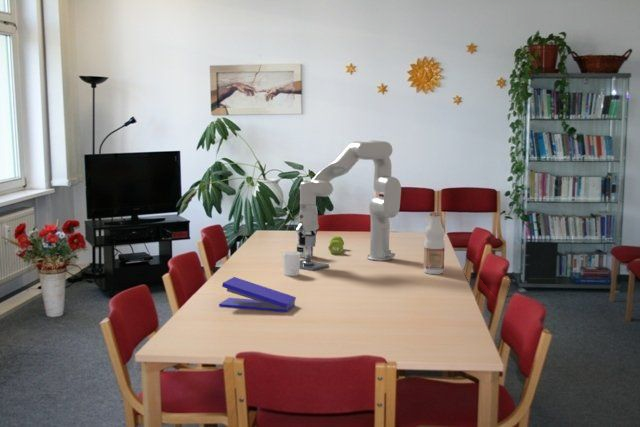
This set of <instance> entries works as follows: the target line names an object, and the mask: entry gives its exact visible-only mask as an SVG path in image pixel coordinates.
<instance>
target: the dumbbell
mask: <svg viewBox="0 0 640 427" xmlns="http://www.w3.org/2000/svg"><path fill="white" fill-rule="evenodd" d="M344 245H345V241H344V239H343V238H342V237H341V236H339V235H338V236H337V235H335V236H333V237H331V239H330V240H329V245H328V247H327V248H328V250H329V252H330V254H331V255H340V254H342V252H343V250H344Z"/></svg>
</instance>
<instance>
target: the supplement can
mask: <svg viewBox="0 0 640 427" xmlns="http://www.w3.org/2000/svg"><path fill="white" fill-rule="evenodd" d="M302 234H303V232H302ZM305 234H311V233H310V232H306V233H305ZM296 252H299V253H300V259H305V257H304V247H301V246H300V244H299V236H298V234H297V233H296ZM313 256H314V247H311V258H312V257H313Z"/></svg>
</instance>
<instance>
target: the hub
mask: <svg viewBox="0 0 640 427" xmlns="http://www.w3.org/2000/svg"><path fill="white" fill-rule="evenodd" d="M304 237H305V245H300V246H301V247H313V248H314V247H316V243H315V235H312V234H305V236H304Z"/></svg>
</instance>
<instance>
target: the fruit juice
mask: <svg viewBox="0 0 640 427" xmlns="http://www.w3.org/2000/svg"><path fill="white" fill-rule="evenodd" d="M441 214H442V213H440V212H430V213H429V217H430V219H429V222H428V225H427V226H426V228H425V230H424V235H425V240H424V241H423V242H424V243H423V247H424V248H423V272H424V274H427V273H428V274H427V275H441V273H442V274H444V270H445V249H446V247H445V246H446V244H445V232H446V231H445V228H444V227H443V224H442V222H441V216H442V215H441Z"/></svg>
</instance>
